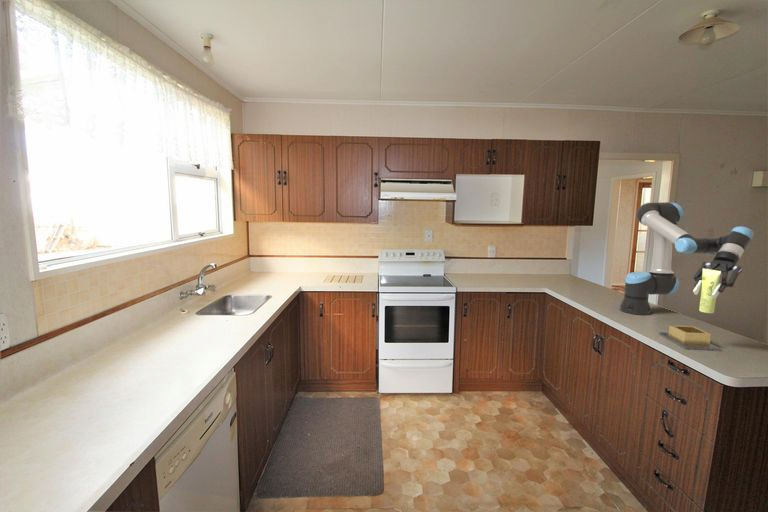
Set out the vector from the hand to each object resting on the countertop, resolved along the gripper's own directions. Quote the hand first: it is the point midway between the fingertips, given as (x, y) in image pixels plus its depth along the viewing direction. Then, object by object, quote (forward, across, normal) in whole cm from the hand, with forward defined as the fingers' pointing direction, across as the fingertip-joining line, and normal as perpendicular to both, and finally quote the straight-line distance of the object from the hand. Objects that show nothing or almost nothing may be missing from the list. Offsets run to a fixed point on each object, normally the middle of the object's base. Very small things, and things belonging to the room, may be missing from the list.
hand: (704, 294), depth 153 cm
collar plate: (+16, +4, -18) cm, 24 cm away
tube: (+3, 0, -9) cm, 9 cm away
